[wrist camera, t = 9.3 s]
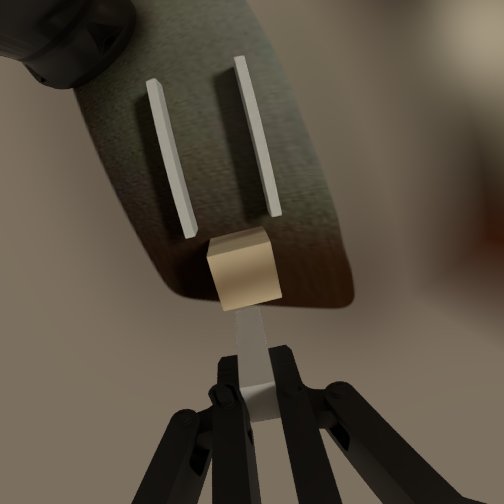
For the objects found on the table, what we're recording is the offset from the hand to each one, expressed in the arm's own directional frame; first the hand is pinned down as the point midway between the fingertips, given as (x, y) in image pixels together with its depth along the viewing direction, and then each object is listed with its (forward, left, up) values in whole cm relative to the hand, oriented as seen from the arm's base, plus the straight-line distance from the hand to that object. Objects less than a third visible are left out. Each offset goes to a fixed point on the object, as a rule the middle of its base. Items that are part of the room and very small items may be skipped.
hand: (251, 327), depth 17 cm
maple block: (+1, 0, -15) cm, 15 cm away
